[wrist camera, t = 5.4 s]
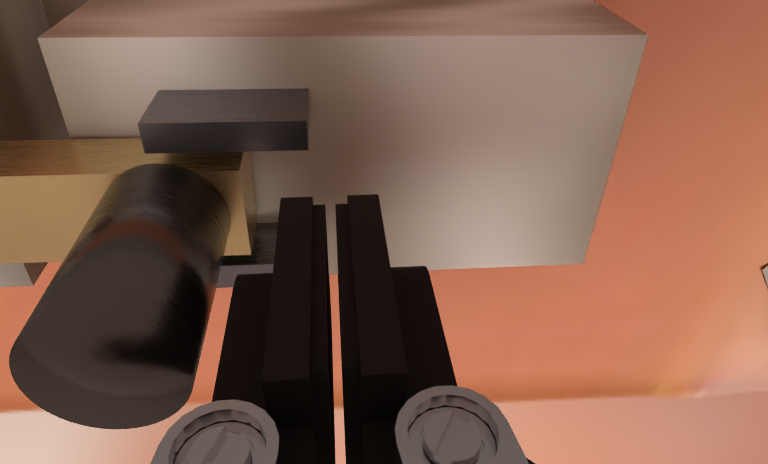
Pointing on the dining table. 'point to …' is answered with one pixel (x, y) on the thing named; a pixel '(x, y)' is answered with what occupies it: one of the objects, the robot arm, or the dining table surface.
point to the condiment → (765, 273)
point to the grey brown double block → (361, 107)
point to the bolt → (119, 270)
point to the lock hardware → (230, 142)
